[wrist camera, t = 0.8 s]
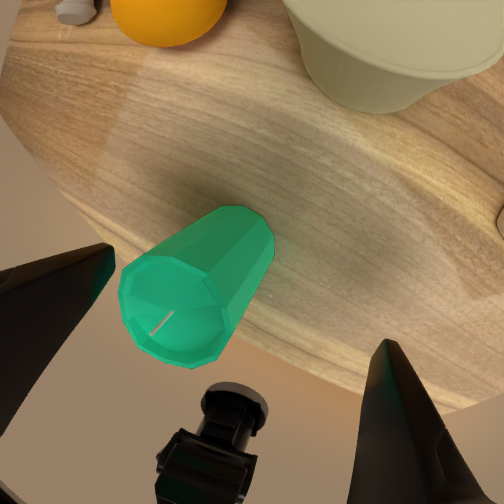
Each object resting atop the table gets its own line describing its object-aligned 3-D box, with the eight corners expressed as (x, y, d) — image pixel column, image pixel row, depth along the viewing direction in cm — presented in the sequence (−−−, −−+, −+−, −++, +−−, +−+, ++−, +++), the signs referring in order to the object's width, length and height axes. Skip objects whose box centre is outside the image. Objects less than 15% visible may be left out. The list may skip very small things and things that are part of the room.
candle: (239, 296, 24) (170, 404, 14) (183, 243, 24) (80, 319, 13) (292, 245, 22) (250, 348, 11) (231, 186, 22) (130, 235, 11)
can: (424, 3, 13) (482, -87, 3) (437, 121, 17) (540, 106, 6) (296, -7, 16) (256, -115, 5) (302, 111, 19) (265, 68, 8)
